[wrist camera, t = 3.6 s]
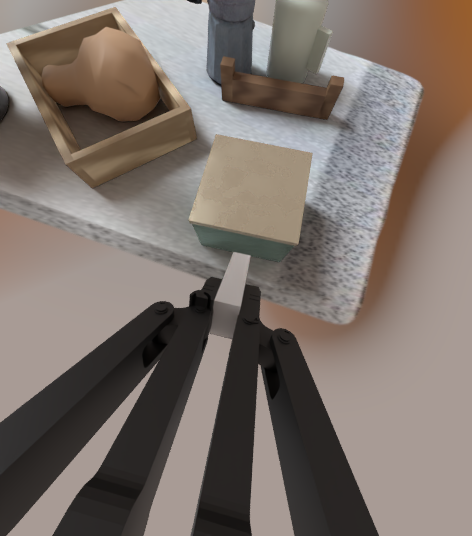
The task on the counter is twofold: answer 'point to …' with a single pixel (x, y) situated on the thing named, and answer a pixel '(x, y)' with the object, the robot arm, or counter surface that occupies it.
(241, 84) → the walnut stop rail
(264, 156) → the green tea tin
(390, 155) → the counter surface
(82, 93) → the squash
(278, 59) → the sage mug
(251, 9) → the moka pot
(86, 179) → the pine crate
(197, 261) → the counter surface
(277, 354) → the robot arm
